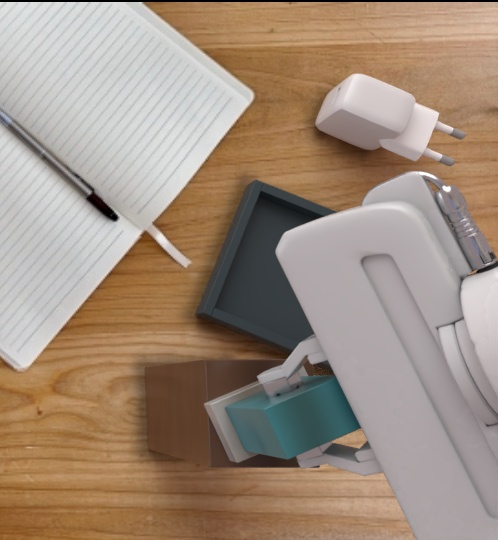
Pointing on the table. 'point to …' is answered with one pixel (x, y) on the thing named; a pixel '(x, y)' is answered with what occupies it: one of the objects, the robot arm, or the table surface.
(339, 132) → the power adapter
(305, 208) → the tray
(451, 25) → the table surface
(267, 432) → the eraser
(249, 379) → the stand
